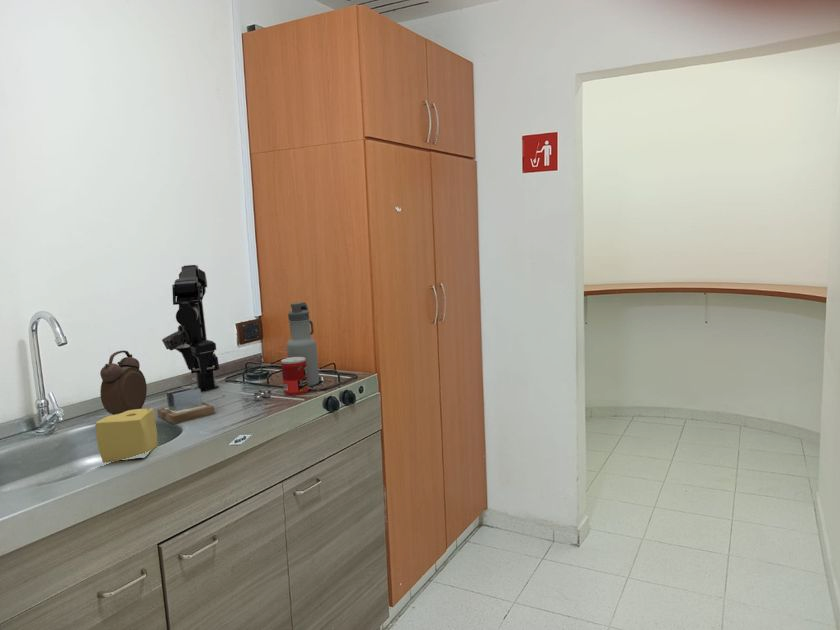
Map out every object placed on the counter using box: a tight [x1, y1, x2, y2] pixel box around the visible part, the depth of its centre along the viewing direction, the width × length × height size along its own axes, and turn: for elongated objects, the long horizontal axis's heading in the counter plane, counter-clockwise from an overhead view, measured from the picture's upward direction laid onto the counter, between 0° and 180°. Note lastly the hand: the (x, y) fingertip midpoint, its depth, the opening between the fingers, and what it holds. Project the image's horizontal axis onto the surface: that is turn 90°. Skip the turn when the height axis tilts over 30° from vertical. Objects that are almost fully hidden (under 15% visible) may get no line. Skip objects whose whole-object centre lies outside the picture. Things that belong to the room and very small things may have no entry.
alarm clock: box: [99, 350, 148, 415], centre depth 183 cm, size 15×7×20 cm, turn 171°
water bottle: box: [286, 301, 320, 388], centre depth 209 cm, size 10×10×28 cm
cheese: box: [95, 407, 158, 463], centre depth 149 cm, size 10×11×10 cm
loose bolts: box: [253, 389, 272, 402], centre depth 197 cm, size 6×8×2 cm
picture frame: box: [156, 401, 216, 425], centre depth 181 cm, size 12×12×2 cm
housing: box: [166, 386, 203, 412], centre depth 181 cm, size 8×5×5 cm, turn 134°
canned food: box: [280, 357, 309, 396], centre depth 200 cm, size 8×8×11 cm
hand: (196, 371), depth 187 cm, fingers open, 9 cm apart
